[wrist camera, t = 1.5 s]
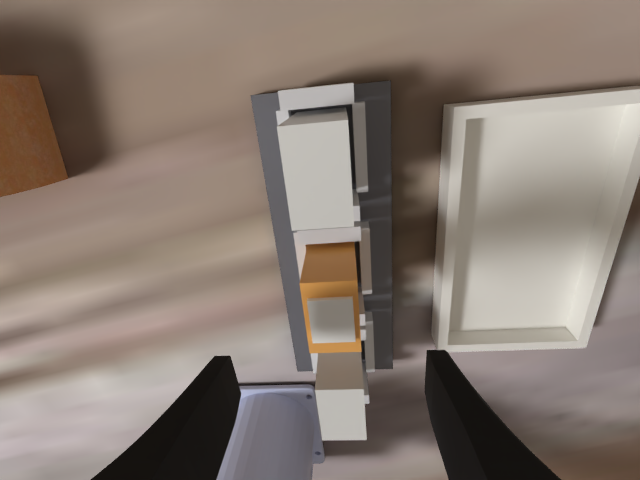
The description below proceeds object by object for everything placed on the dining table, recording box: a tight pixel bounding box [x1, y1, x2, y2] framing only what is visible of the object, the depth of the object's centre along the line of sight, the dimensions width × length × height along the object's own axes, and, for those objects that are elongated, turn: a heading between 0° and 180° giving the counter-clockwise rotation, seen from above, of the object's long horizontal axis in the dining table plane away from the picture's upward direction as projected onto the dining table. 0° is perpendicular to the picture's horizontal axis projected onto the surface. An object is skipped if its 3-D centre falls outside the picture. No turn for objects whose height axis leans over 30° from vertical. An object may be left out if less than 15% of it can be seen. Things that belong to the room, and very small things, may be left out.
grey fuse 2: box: [315, 352, 367, 440], centre depth 21 cm, size 4×2×6 cm, turn 5°
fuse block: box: [251, 81, 393, 404], centre depth 20 cm, size 19×7×4 cm, turn 5°
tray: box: [431, 86, 640, 352], centre depth 19 cm, size 15×9×2 cm, turn 5°
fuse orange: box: [299, 242, 362, 353], centre depth 18 cm, size 4×2×6 cm, turn 5°
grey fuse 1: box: [277, 107, 354, 231], centre depth 15 cm, size 4×2×6 cm, turn 5°
